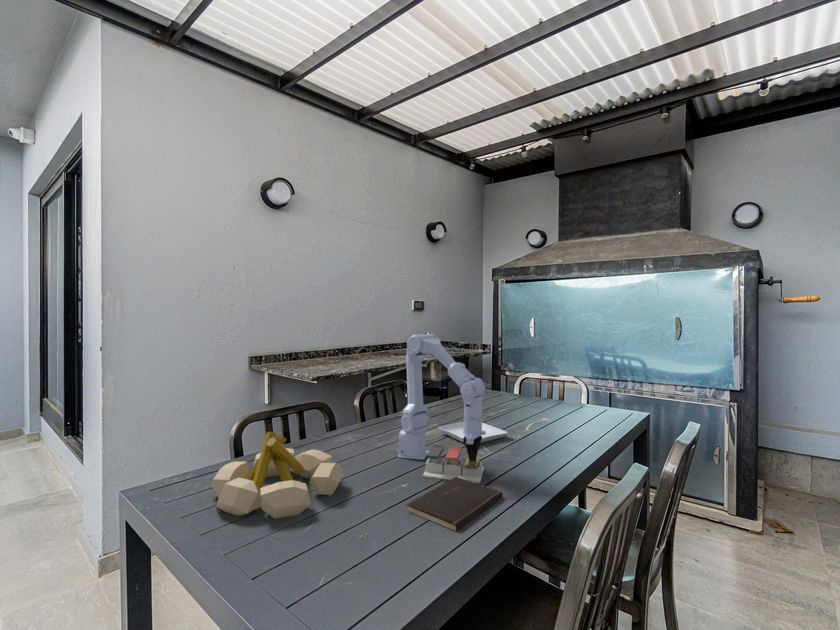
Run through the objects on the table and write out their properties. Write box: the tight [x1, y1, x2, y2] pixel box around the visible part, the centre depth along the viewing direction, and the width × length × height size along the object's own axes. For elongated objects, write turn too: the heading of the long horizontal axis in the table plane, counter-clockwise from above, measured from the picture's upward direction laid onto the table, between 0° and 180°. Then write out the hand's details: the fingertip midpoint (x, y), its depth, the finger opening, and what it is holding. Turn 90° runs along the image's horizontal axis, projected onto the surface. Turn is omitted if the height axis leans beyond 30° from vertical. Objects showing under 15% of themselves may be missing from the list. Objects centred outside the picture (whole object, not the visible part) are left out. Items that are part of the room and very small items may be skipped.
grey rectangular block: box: [426, 444, 445, 464], centre depth 136 cm, size 4×10×4 cm, turn 166°
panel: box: [422, 457, 485, 484], centre depth 135 cm, size 18×11×3 cm, turn 76°
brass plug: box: [465, 453, 481, 469], centre depth 133 cm, size 4×10×4 cm, turn 165°
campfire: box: [210, 431, 345, 520], centre depth 121 cm, size 35×34×17 cm
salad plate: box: [437, 421, 509, 444], centre depth 172 cm, size 21×21×3 cm
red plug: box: [445, 446, 463, 465], centre depth 135 cm, size 4×10×4 cm, turn 166°
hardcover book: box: [406, 477, 504, 533], centre depth 114 cm, size 16×23×2 cm
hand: (472, 459), depth 133 cm, fingers closed, pressing on brass plug
